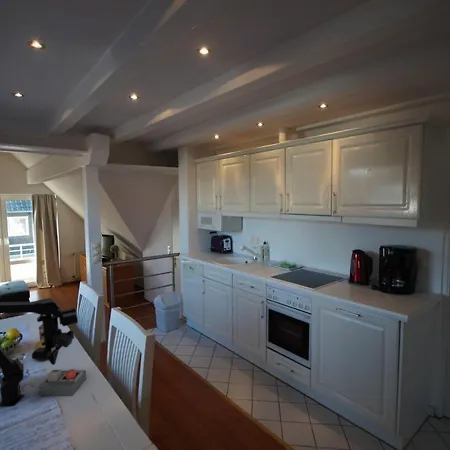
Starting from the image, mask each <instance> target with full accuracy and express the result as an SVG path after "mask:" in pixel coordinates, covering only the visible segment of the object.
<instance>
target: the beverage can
mask: <svg viewBox="0 0 450 450" xmlns="http://www.w3.org/2000/svg"><path fill="white" fill-rule="evenodd" d="M38 330H39V331H38V332H39V333H38V334H39V341H40V340H43V339H44V336H41V333H43V323H42V324H40V325H39V326H38Z"/></svg>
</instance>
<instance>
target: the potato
mask: <svg viewBox="0 0 450 450" xmlns="http://www.w3.org/2000/svg"><path fill="white" fill-rule="evenodd" d="M43 342H44V339H43V340H40V339H39V341H37V343H36V345H35V347H34V350H33V352H34V351H35V350H37V349H38V348H44V347H45V346H42V343H43Z"/></svg>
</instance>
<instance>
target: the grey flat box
mask: <svg viewBox="0 0 450 450" xmlns="http://www.w3.org/2000/svg"><path fill="white" fill-rule="evenodd" d="M75 370H76V369H75ZM66 371H67V370H62V377H61V378H60V380H59V381H58V382H48V379H47V378H46V379H45V380H44V381H43V382H42V383H41V384H39V386H37V387H38V397H62V396H63V397H67V396H70V397H71V396H72V397H73V396H74V394H76V392H77V391H78V390H79V389H80V387H81V386H82V385H83V384H84V382H85V381H86V380H87V371H86V369H85V370H83V369H82V370H78V369H77V370H76V378H75V379H74V380H66V375H65V373H66Z"/></svg>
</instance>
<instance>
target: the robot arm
mask: <svg viewBox="0 0 450 450" xmlns="http://www.w3.org/2000/svg"><path fill="white" fill-rule="evenodd" d="M24 313H25V314H28V313H31V314H37V315H39V316H38V317H37V318H36V321H37V323H40V322H42V324H43V333H41V336H44V342H43V343H42V346H45V347H44V348H38V349H37V350H35V349H34V350H35V351H34V350H33V352H32V353H31V359H32V360H39V359H40V360H46V359H47V360H48V361H49V362H50V364H51V365H56V362H57V358H58V354H59V350H60V349H62V347H63V348H68V347H69V346H70V345H71V344H72V343H73V340H74V339H75V334H74V330H71V329H70V330H68V331H67V332H65V331H64V332H63V331H62V329H61V328H59V325H62V327H66V326H71V325H72V326H73V325H76V324H78V323H79V319H78V316H77V309H76V307H71V308H70V309H69V308H68V309H64V310H62V308H61V307H59V306H58V305H57V302H56V300H54V299H53V298H51V297H47V298H42V299H37V300H34V301H0V314H24ZM0 369H1V370H0V371H1V372H2V375H3V376H2V378H1V379H0V398H1V399H0V400H1V401H0V407H11V406H12V407H14V406H15V405H16V404H17V403H18V402H19V401H20V400H22V399H23V398H24V397H25V394H22V393H21V384H20V383H21V382H22V380H23V379H24V377H25V376H24V363H22V362H21V361H20V359H19V358H18V357H16V358H15V359H13V358H11V357H10V356H9V355H8V354H7V351H5V350H4V348H2V346H1V345H0Z"/></svg>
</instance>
